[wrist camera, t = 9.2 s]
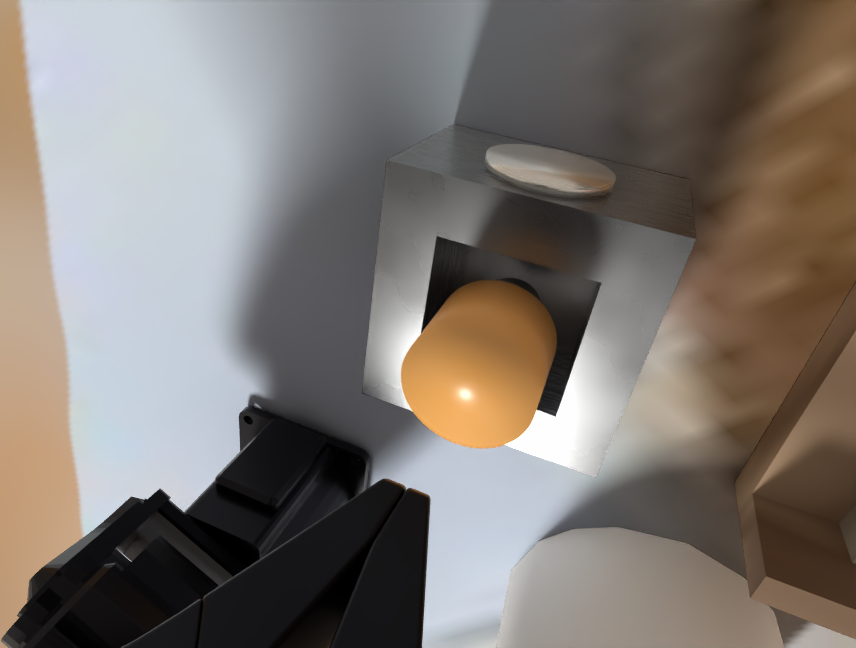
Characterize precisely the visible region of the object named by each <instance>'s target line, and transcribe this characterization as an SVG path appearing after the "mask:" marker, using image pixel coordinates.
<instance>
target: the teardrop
mask: <svg viewBox="0 0 856 648" xmlns="http://www.w3.org/2000/svg"><path fill="white" fill-rule="evenodd" d="M496 648H784V644H783V641H782V637H781V634H780V630H779V627H778V623H777V620H776V617H775V613H774V611H773V610H772V609H771V608H770V607H769V606H768V605H766V604H763V603H760V602H758V601H755V600H753V599H750V596H749V588H748V581H747V579H745V578H743V577H742V576H740V575H739V574H737V573H735V572H734V571H732V570H730V569H729V568H727V567H725V566H724V565H722V564H720V563H719V562H717V561H715V560H714V559H712V558H711V557H709V556H707V555H706V554H704V553H702V552H701V551H699V550H697V549H696V548H694V547H692V546H691V545H689V544H688V543H684V542H679V541H675V540H671V539H667V538H662V537H658V536H654V535H650V534H645V533H641V532H637V531H633V530H628V529H624V528H620V527H604V528H583V529H572V530H569V531H566V532H563V533H560V534H557V535H554V536H551V537H548V538H546V539H543V540H540V541H538V542H537V543H536V544H535V545H534V547H533V548H532V549H531V550H530V551H529V552H528V553H527V554H526V555H525V556H524V557H523V558H522V559H521V560H520V561H519V562H518V563H517V564H516V565H515V566H514V567H513V568H512V570H511V573H510V578H509V583H508V588H507V594H506V599H505V604H504V609H503V614H502V619H501V624H500V629H499V635H498V640H497V645H496Z"/></svg>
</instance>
